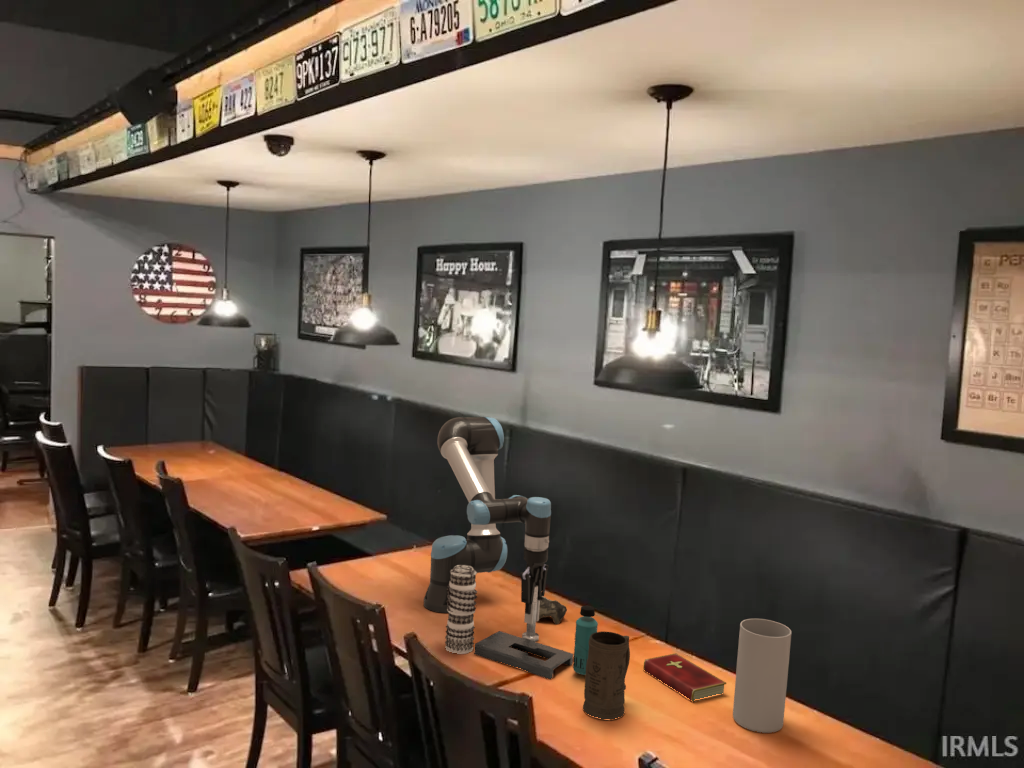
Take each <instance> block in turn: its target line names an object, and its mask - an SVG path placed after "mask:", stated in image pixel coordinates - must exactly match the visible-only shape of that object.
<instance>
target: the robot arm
mask: <svg viewBox="0 0 1024 768" xmlns="http://www.w3.org/2000/svg"><path fill="white" fill-rule="evenodd" d="M504 435H505V434H504V430H503V427H502V424H501V423H500V422H499V420H497V418H494V417H487V416H478V417H477V416H475V417H472V416H471V417H470V416H469V417H465V416H464V417H453V418H451V419H449V420H447V421H445V423H444V424H443V425H442V426H441V428H440V429H439V432H438V435H437V448H438V450H439V453H440V455H441V457H443V458H444V459H446V460H447V462H448V464H449V465H450V467H451V470H452V471H453V474H454V476H455V477H456V480H457V482H458V483H459V485H460V488H461V490H462V491H463V493H464V496H465V497H466V499H467V502H468V504H467V506H466V515H467V520H468V522H469V523H470V524H471V525H470V526H471V527H470V530H469V531H468V532H467V534H466V535H467V536H466V537H467V539H466V538H465V536H462V535H459V534H458V535H454V534H451V535H445V536H441V537H438V538H437V539H435V540H434V541H433V542H432V545H431V552H430V572H429V573H430V575H429V576H430V577H429V583H428V586H427V589H426V592H425V595H424V597H423V607H424V608H425V609H427V610H429V611H432V612H435V613H444V614H448V613H449V612H448V611H447V607H448V605H447V600H448V598H447V596H448V591H447V589H448V587H447V585H448V584H449V583H450V575H451V573H450V571H451V570H452V569H453V568H454V567H455V566H457V565H469V566H471V567H473V569H474V570H475V571H476V572H477V574H481V573H492V572H496V571H499V570H501V569H502V568H503V567H504V566H505V563H506V561H507V558H508V544H507V541H506V539H505V538H504V537H502V536H501V532H500V531H499V530H498V528H497V525H496V524H505V523H506V524H508V523H510V524H511V523H522V524H523V525H525V528H524V529H525V530H524V542H523V546H524V547H523V561H525V562H526V565H525V571H524V572H522V571H520V579H521V580H520V581H521V586H520V587H521V588H520V590H521V591H520V598H521V599H520V601H521V603H524V604H525V605H524V621H523V623H526V624H527V623H528V624H531V625H532V624H533V615H534V603H533V597H534V589H535V585H538V597H537V612H536V622H539V621H540V619H539V608H540V600H543V599H544V598H543V597H542V596H544V597H545V591H546V584H547V575H548V570H549V567H550V566H549V564H545V563H547V561H548V559H549V549H548V548H549V543H550V530H551V529H550V528H551V517H552V510H551V509H552V502H551V501H550V499H548V498H547V497H541V496H540V497H539V496H532V497H529V498H527V497H526V496H523V495H519V494H518V495H517V494H513V495H512V496H510V497H508V498H500V499H499V498H496V491H495V490H496V489H495V488H496V487H495V463H494V462H495V461H494V460H495V458H497V456H499V452H498V451H499V450H501V449H502V448H503V446H504V442H505V436H504ZM449 591H450V590H449ZM449 598H450V597H449ZM449 602H450V601H449Z"/></svg>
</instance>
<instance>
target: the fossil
mask: <svg viewBox="0 0 1024 768" xmlns="http://www.w3.org/2000/svg"><path fill="white" fill-rule="evenodd" d="M542 597H543V598H544V599H543V600H540V608H539V620H540V619H543V618H547V617H550V618H552V621H553V624H555V625H559V624H560V623H561V621H562V620H563V619H564V617H565V615H566V613H567V611H568V608H567V606H565V604H562V603H561V602H560V601H558V600H556V599H554V600H552V599H549V598H547V597H546V596H545V595H544V596H542Z"/></svg>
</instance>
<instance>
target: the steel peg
mask: <svg viewBox="0 0 1024 768" xmlns="http://www.w3.org/2000/svg"><path fill="white" fill-rule="evenodd" d="M537 597H538V585H535V589H534V597H533V603H534V615H533V624H532V625H531V624H528V623H526V631H525V632H523V633H522V634H521V638H524V639H527V640H530V641H534V642H539V639H540V638H539V637H540V634H538V633H537V632H536V628H537V626H536V624H537V621H536V612H537Z"/></svg>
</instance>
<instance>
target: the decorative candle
mask: <svg viewBox="0 0 1024 768" xmlns="http://www.w3.org/2000/svg"><path fill="white" fill-rule="evenodd" d="M450 573H451V575H450V583H449V584H448V585H447V587H448V589H447V591H448V596H447V598H448V600H447V605H448V607H447V611H448V612H449V613H447V614H448V616H447V622H446V626H445V628H446V631H445V634H446V635H445V636H444V637H445V638H444V639H445V641H444V643H445V646H444V649H445V648H446V649H445V650H446V651H447V652H448V651H449V652H448V653H450V652H452V653H451V654H453V653H457V654H456V655H467V654H470V653H471V652H473V650H474V647H473V646H475V643H474V640H475V637H474V634H475V631H474V630H475V628H476V627H475V623H474V622H475V621H474V614H475V612H476V609H477V606H476V605H477V602H476V601H475V600H477V598H478V595H477V594H478V593H479V591H478V590H477V589H476V587H477V582H476V579H477V578H476V575H477V574H478V573H477V572H476V571H475V570H474V569H473V567H471V566H469V565H457V566H455V567H454V568H453V569H452V570H451V571H450ZM449 590H450V591H449ZM449 597H450V598H449ZM449 601H450V602H449ZM469 652H470V653H469Z"/></svg>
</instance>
